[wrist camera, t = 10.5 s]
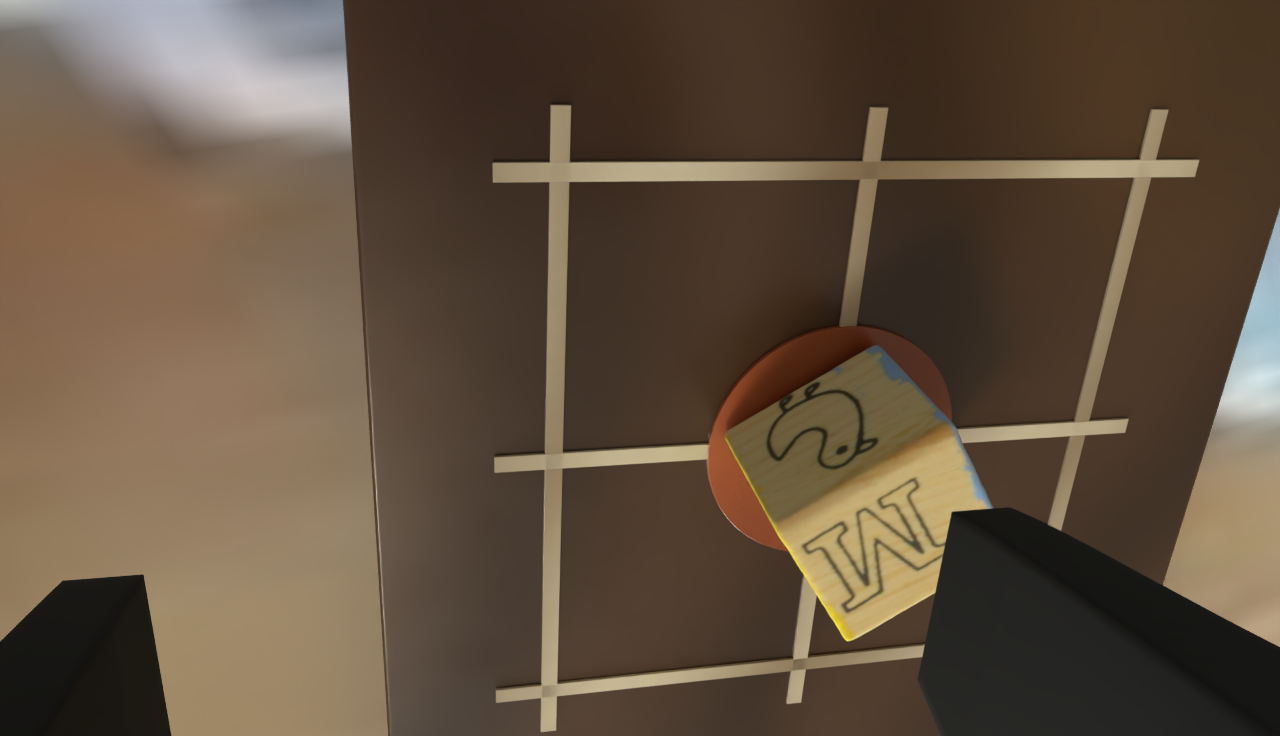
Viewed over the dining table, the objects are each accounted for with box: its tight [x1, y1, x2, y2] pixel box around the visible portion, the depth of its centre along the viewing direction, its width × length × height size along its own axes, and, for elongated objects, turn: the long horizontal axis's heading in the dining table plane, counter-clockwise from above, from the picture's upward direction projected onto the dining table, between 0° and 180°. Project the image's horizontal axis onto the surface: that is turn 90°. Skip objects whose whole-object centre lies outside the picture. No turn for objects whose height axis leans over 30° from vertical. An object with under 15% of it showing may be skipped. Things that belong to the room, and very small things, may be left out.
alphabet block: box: [725, 345, 993, 641], centre depth 18 cm, size 3×3×3 cm
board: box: [343, 0, 1280, 736], centre depth 20 cm, size 16×20×1 cm
